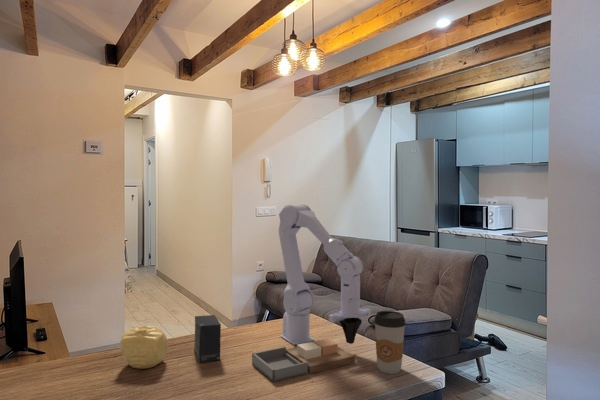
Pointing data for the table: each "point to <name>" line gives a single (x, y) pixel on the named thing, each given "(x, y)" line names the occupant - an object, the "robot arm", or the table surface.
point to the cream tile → (309, 350)
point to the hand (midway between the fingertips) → (350, 342)
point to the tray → (278, 364)
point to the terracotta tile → (326, 346)
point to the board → (324, 360)
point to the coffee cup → (389, 340)
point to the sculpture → (144, 346)
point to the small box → (207, 338)
